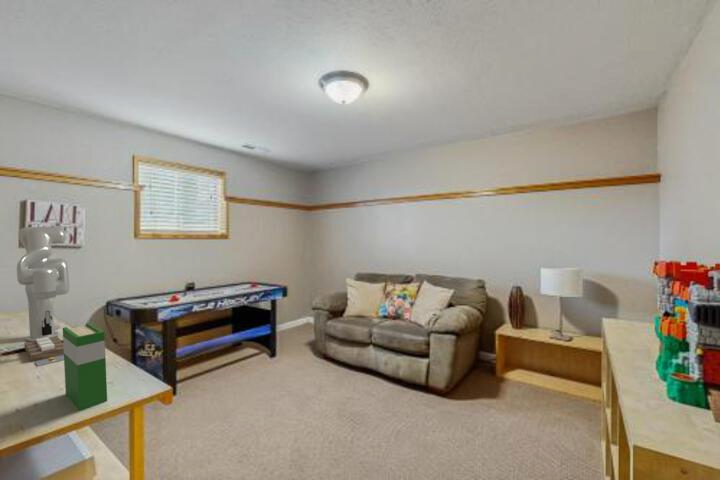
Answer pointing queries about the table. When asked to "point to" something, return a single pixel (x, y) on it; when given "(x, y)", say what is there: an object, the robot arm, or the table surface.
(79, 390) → the hardback book
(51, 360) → the card
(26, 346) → the button board
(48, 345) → the button
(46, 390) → the table surface
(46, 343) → the button middle
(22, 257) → the robot arm
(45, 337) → the button
